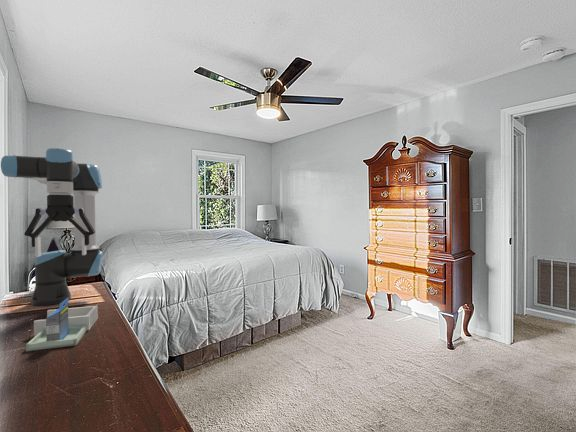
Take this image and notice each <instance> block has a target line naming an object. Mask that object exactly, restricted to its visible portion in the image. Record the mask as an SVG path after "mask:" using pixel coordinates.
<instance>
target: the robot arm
mask: <svg viewBox="0 0 576 432" xmlns="http://www.w3.org/2000/svg"><path fill="white" fill-rule="evenodd" d="M0 170H1V173H2V175H3V176H5V177H6V178H7V177H8V178H23V179H29V180H33V181H37V182H39V183H40V184H43V185H46V193H47V195H46V208H42V207H37V208H35V210H34V211H35V212H34V216H33V218H32V219H31V222H30V223H29V225H28V226H27V228H26V230H25V232H24V233H23V234H24V236H25V237H30V239H31V247H32V248H34V249H35V250H34V254H35V255H34V257H35V260H34V261H35V262H34V277H35V279H34V280H35V285H34V286H35V287H34V289H33V293H32V295H31V298H30V305H31V306H35V307H36V306H37V307H38V306H39V307H40V306H53V305H58V304H60V303H61V302H63V301H64V300H65V299H67V298H68V302H69V301H70V300H71V299H72V294H71V291H70V288H69V286H68V284H67V278H69V279H70V278H79V277H80V278H82V277H93V276H98V275H99V274H100V273H101V269H102V266H103V265H102V263H103V255H104V252H103V251H102V250H100V247H99V246H98V245H97V244H96V196H97V195H98V193H99V190H100V189H102V188H103V184H102V183H103V182H102V176H101V172H100V169H99V166H98V165H96V164H92V163H77V162H76V161H74V157H73V152H72V150H71V149H66V148H53V147H52V148H47V149H46V151H45V156H27V155H26V156H23V155H21V156H20V155H15V154H14V155H4V156H2V157H1V160H0ZM45 213H46V215H47V216H48V217H47V218H46V219H45V220H44V221H43V222H42V223H41V224H40V225H39V226H38V223H39V222H40V220H41V218H42V216H44V215H45ZM52 222H70V223H71V224H72V225H73V227H74V228H73V229H74V246H73V247H72V248H71V249H70V252H67V251H66V250H65V249H62V250H58V251H52V252H47V251H46V252H42V241H41V240H42V237H41V236H40V234H41V233H42V232H43V231H44V230H45V229H46V228H47V227H48V226H49V225H50V224H52ZM37 226H38V227H37ZM36 227H37V228H36ZM35 228H36V230H35ZM34 230H35V231H34Z"/></svg>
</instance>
